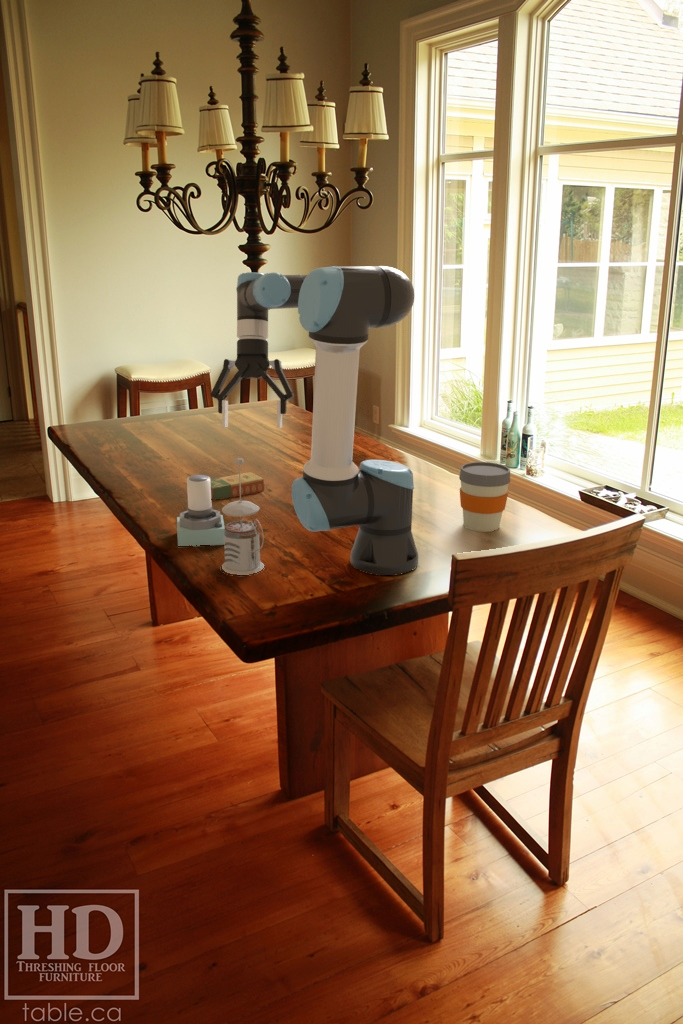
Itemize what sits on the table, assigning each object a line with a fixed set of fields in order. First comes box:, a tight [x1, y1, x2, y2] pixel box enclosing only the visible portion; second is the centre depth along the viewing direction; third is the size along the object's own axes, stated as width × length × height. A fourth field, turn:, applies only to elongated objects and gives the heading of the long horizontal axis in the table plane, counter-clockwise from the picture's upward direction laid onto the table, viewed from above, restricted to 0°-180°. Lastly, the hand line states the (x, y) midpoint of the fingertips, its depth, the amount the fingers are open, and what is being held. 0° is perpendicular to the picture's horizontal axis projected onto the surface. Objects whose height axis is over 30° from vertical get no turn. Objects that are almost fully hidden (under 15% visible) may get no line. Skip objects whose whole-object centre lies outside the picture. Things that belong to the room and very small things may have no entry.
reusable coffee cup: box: [459, 461, 511, 533], centre depth 210 cm, size 13×12×15 cm
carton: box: [210, 471, 265, 501], centre depth 236 cm, size 8×16×4 cm, turn 124°
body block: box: [176, 508, 226, 547], centre depth 201 cm, size 10×11×6 cm
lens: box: [186, 474, 213, 521], centre depth 199 cm, size 6×6×11 cm
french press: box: [221, 457, 265, 576], centre depth 181 cm, size 10×12×25 cm
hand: (252, 427), depth 205 cm, fingers open, 13 cm apart
